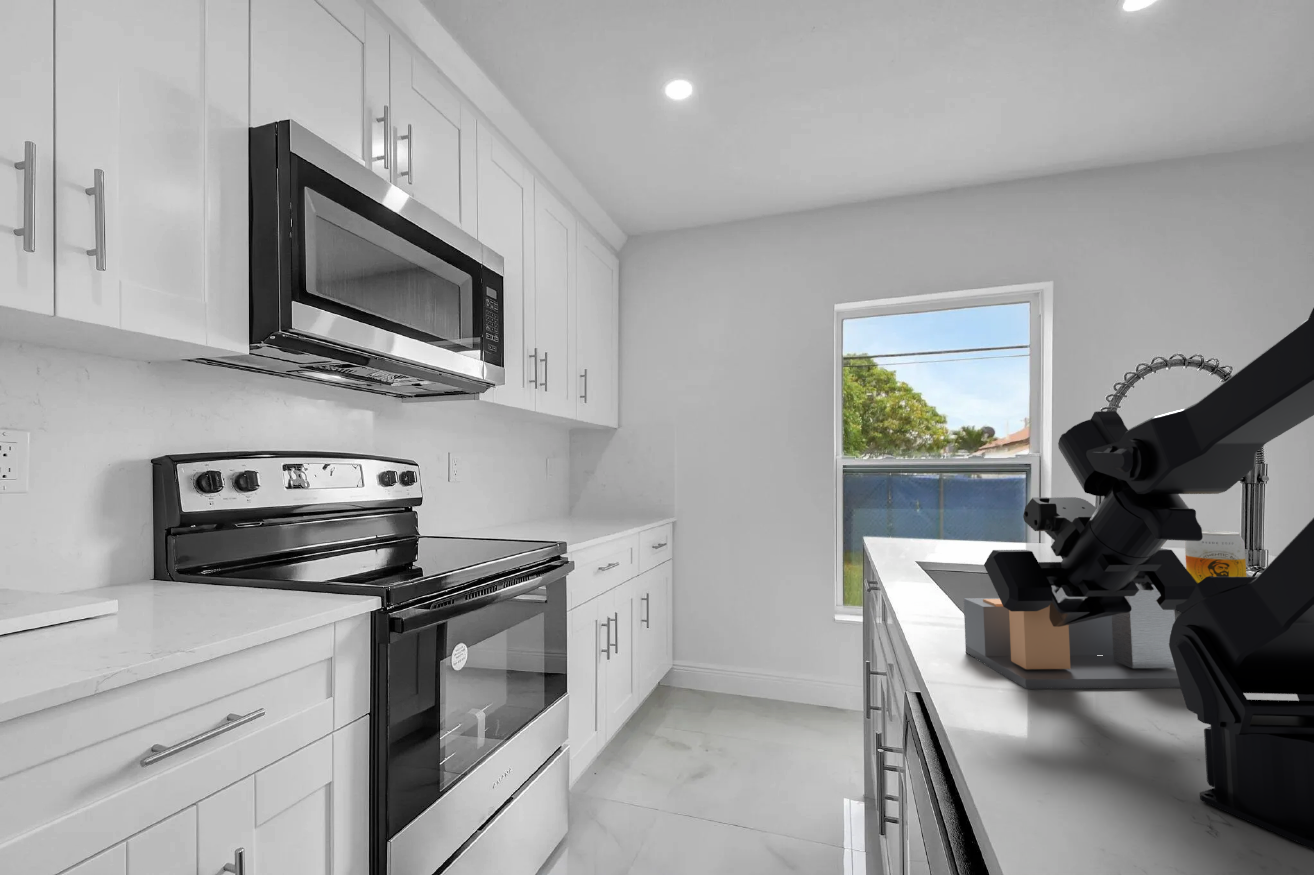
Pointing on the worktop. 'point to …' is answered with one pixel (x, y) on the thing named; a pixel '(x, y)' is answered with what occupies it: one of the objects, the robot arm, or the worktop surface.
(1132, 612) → the light grey block
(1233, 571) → the beer can
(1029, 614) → the tan rectangular block
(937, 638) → the worktop surface
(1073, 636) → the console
